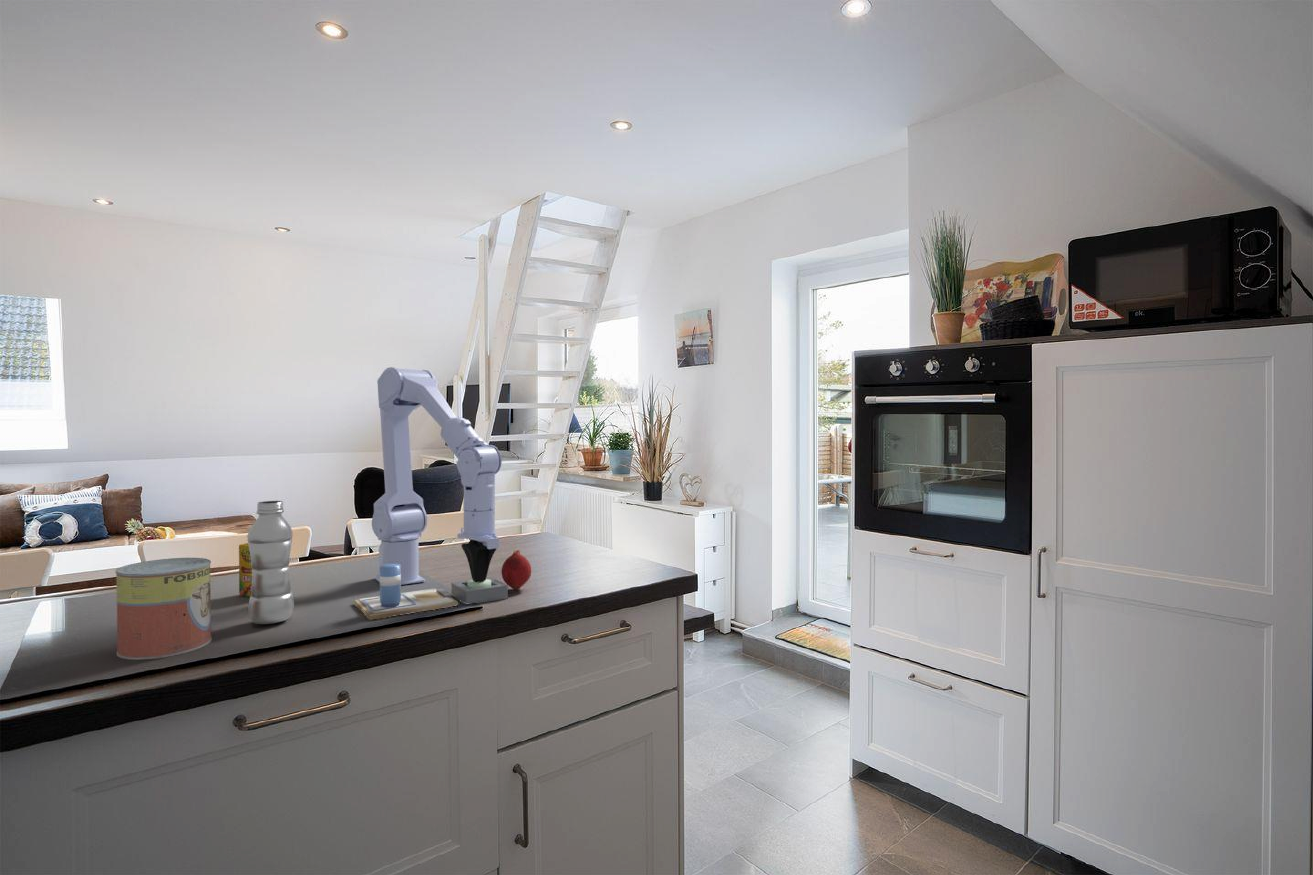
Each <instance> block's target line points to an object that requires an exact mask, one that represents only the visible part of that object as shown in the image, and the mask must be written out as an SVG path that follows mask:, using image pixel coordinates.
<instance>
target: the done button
mask: <svg viewBox="0 0 1313 875" xmlns="http://www.w3.org/2000/svg"><path fill="white" fill-rule="evenodd" d="M486 586H491V580H489V579H486V580H485V581H479V582H474V581H473V579H469V581H468V582H467V587H469V588H471V589H473V588H479V587H486Z"/></svg>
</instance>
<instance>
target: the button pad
mask: <svg viewBox="0 0 1313 875" xmlns="http://www.w3.org/2000/svg"><path fill="white" fill-rule="evenodd" d="M486 579H489V580H491V586H486V587H479V588H473V589H471V588H469V587H467V582H468V581H469V580H470V579H469V580H468V579H466V580H460V581H454V582H453V581H452V582H451V586H450V587H451V588H450V589H451V590H450V591H451V593H450V594H452V598H454V599H456V598H457V599H456V600H457V601H459V600H461V601H463V602H465V603H476V604H481V603H482V604H483V603H488V602H489V603H490V602H493V601H500V600H507V599H508V596H509V595H508V594H509V592H508V591H509V590H508V588H509V586H508V585H507V584H506V583H505V582H502V581H501V580H498V579H496V578H494V577H492V576H489V577H486ZM461 601H460V602H461Z"/></svg>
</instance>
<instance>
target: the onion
mask: <svg viewBox="0 0 1313 875" xmlns="http://www.w3.org/2000/svg"><path fill="white" fill-rule="evenodd" d="M500 572H501V578H502V580H503V581H504V582H503V583H504V584H506V585H508V587H510V588H511V589H513V590H515V591H517V590H520V588H522V587H523V586H524V585H525V584H527V582H528V581H529V580H530V578H531V576H532V565H531V564H530V561H529V560H528V559H527V557H525V556H524V555H522V554H521V550H520V549H515V550H514V551H513V553H512V555H510V556H509V557H508V558H506V559H505V561H504V562H503V564H502V566H501V571H500Z"/></svg>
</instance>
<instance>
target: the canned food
mask: <svg viewBox="0 0 1313 875" xmlns="http://www.w3.org/2000/svg"><path fill="white" fill-rule="evenodd" d="M211 564H212V561H211V559H208V558H204V557H172V558H163V559H162V558H161V559H154V560H152V559H151V560H147V561H140V562H135V563H130V564H127V565H123V566H121V567H118V568H117V569H115V575H116V630H117V631H116V635H117V637H116V638H117V640H116V642H117V644H116V645H117V650H116V656H117V657H118V658H120V659H124V660H131V661H132V660H133V661H136V660H137V661H140V660H143V661H145V660H155V659H163V658H168V657H169V658H170V657H174V656H178V655H182V654H186V653H190V652H193V651H195V650H198V649H201V648H203V647H205V646H208V645H209V644H210V643H211V642H212V640H213V638H212V628H211V627H212V625H211V623H212V620H211V619H212V618H211V617H212V616H211V614H212V612H211V607H212V605H211Z"/></svg>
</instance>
